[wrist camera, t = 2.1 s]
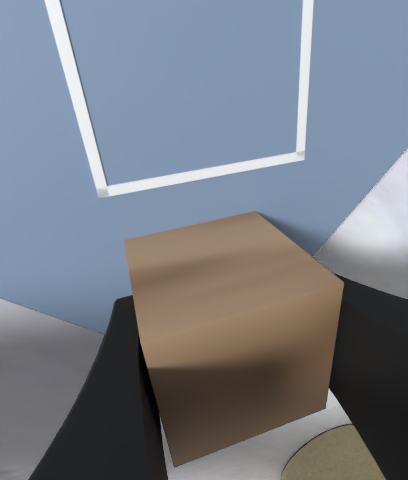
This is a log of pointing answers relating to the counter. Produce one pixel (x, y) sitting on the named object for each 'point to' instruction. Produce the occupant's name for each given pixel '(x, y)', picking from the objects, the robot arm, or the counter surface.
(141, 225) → the blueprint board
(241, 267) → the walnut block
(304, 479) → the plant pot
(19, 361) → the counter surface
